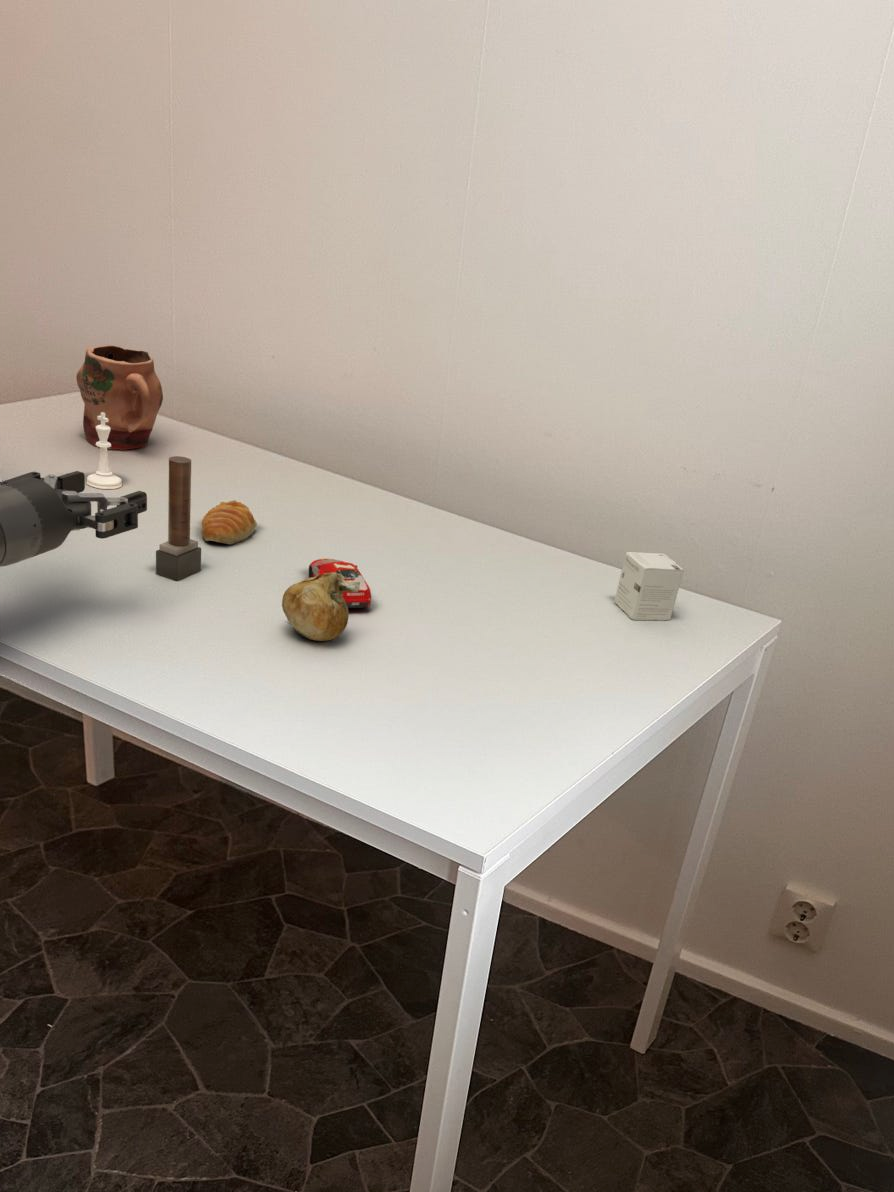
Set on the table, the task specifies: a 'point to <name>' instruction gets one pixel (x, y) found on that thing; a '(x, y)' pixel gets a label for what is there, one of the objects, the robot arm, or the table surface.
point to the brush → (179, 526)
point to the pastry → (228, 523)
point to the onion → (318, 606)
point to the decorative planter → (119, 395)
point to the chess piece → (103, 460)
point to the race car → (348, 573)
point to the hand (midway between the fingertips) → (112, 490)
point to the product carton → (648, 586)
